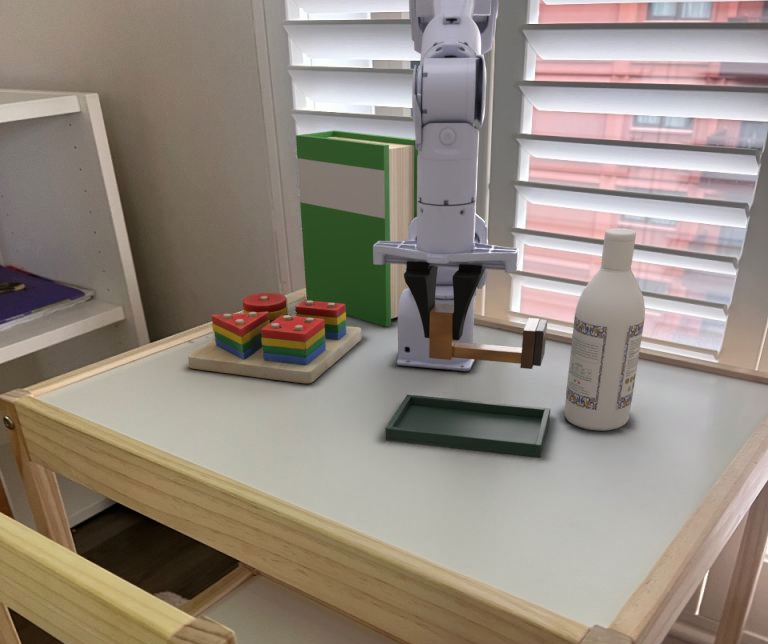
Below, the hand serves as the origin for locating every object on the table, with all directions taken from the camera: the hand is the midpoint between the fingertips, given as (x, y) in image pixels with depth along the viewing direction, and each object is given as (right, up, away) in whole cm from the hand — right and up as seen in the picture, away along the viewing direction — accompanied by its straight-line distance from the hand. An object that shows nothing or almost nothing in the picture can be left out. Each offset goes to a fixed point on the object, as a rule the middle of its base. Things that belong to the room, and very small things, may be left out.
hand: (443, 336), depth 85 cm
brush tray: (+3, -10, +2) cm, 10 cm away
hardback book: (-10, +13, +39) cm, 42 cm away
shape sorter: (-20, +3, +23) cm, 31 cm away
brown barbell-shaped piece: (+5, -2, 0) cm, 5 cm away
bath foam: (+17, -8, +4) cm, 19 cm away
